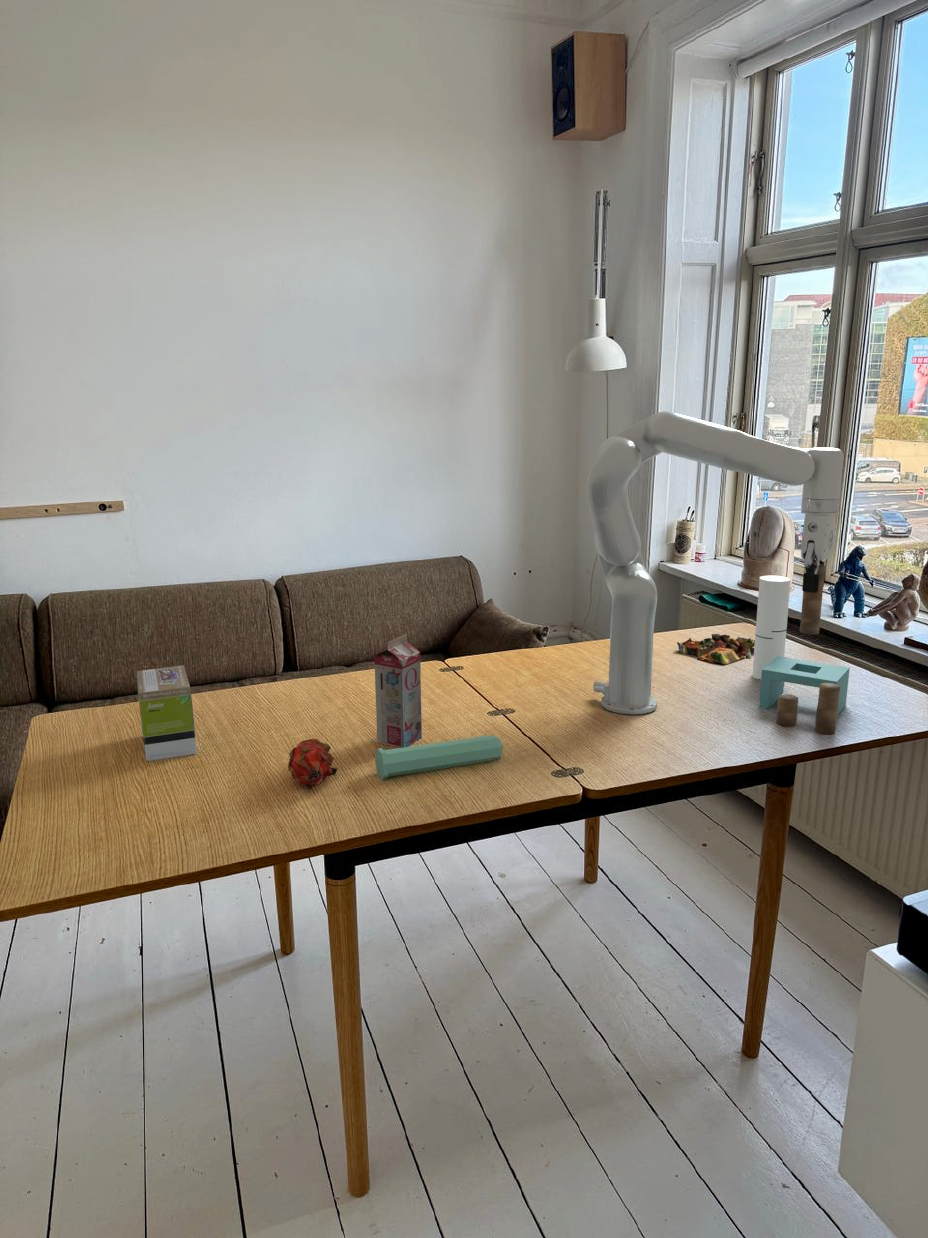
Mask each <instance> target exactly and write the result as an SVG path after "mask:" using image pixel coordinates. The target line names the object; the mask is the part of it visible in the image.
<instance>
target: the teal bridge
mask: <svg viewBox="0 0 928 1238" xmlns="http://www.w3.org/2000/svg"><path fill="white" fill-rule="evenodd" d="M850 669H851V668H850V667H849V666H844V665H843V666H842V665H835V664H829V663H824V662H818V661H817V662H816V661H811V660H804V659H798V658H791V657H785V656H784V657H780V656H777V657H776V658H775V659H774V660H772V661H771V662H770V663H769V664H768V665H767V666H765V667H764V668H763V669H762V676H761V680H760V690H759V691H760V692H759V704H758V708H761V709H765V708H768V709H769V708H771V707H772V706H773V705H774V704H775V703H777V702H778V698H779V695H782V694H783V695H784V689H785V688H784V687H785V683H789V684H796V685H801V686H808V687H812V688H818V689H820V684H822V683H832V684H836V685H839V686H840V696H839V704H838V712H837V717H838V715H840V713H841V712H842V711H843V710H844V708H845V707H846V706H847V697H848V687H849V680H850V679H849V678H850Z"/></svg>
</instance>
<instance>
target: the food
mask: <svg viewBox="0 0 928 1238" xmlns="http://www.w3.org/2000/svg"><path fill="white" fill-rule="evenodd" d="M676 644H677V646H678V653H679V654H683V655H688V656H693V657H696V658H697V659H696V660H698V661H699V660H700V661H702V662H706V663H707V662H708V663H713V664H716V663H719V664H723V665H728V664H731V663H733V662H735V661H739V660H742V659H744V658H745V659H748V660H752V659H751V658H753V656H752V653H751V649H752V648H754V646H755V639H752V638H751V637H749V638H745V637H740V636H738V637H737V638H731V635H728V634H720V633H712V634H711V637H708V638H704V639H703V640H692V637H689V638H688V639H687V640H685V641H683V642H679V641H677V642H676ZM742 655H743V656H742ZM699 656H700V657H699Z"/></svg>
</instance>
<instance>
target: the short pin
mask: <svg viewBox="0 0 928 1238" xmlns="http://www.w3.org/2000/svg"><path fill="white" fill-rule="evenodd" d="M777 702H778V703H777V712H776V713H777V714H776V723H775V724H776V725H778V726H779V727H784V728H793V727H796V726H797V718H798V708H799V697H798V696H796V695H793V694H788V693H787V694H784V693H783V695H779V698H778V700H777Z"/></svg>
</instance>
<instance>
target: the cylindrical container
mask: <svg viewBox="0 0 928 1238" xmlns="http://www.w3.org/2000/svg"><path fill="white" fill-rule="evenodd" d="M791 579H792V578H790V577H788V576H782V575H772V574H771V575H762V576H759V583H758V597H757V598H758V599H757V606H756V607H757V609H756V611H757V612H756V621H755V635H754V640H755V646H754V647H753V648H754V649H753V662H752V672H751V673H752V678H754V679H755V678H757V679H756V680H758V679H761V676H762V669H763V668H764V667H765V666H767V665H768V664H769V663H770V662H771V661H772V660H774V659H775V658H776V657H777V656H780V657H785V651H786V641H787V627H788V617H789V616H788V615H789V606H790V605H789V603H790V593H791V591H790V590H791V581H792V580H791Z"/></svg>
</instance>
